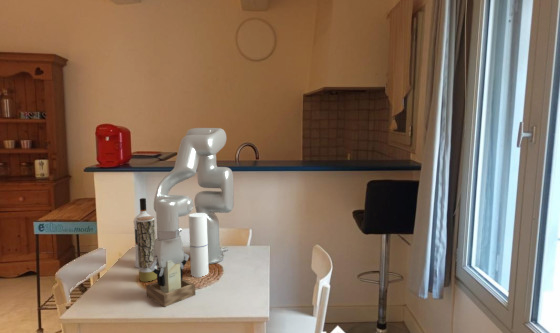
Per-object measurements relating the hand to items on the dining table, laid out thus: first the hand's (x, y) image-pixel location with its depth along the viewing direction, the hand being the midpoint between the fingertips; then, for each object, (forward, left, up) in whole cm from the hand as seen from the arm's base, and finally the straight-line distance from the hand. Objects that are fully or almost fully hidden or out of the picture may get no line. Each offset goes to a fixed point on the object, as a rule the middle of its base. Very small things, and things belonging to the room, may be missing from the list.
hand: (170, 281), depth 143 cm
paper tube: (-2, -20, -5) cm, 21 cm away
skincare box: (0, 0, -4) cm, 4 cm away
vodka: (-9, -35, -5) cm, 36 cm away
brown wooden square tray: (0, 0, -5) cm, 5 cm away
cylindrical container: (-19, -9, -5) cm, 22 cm away
